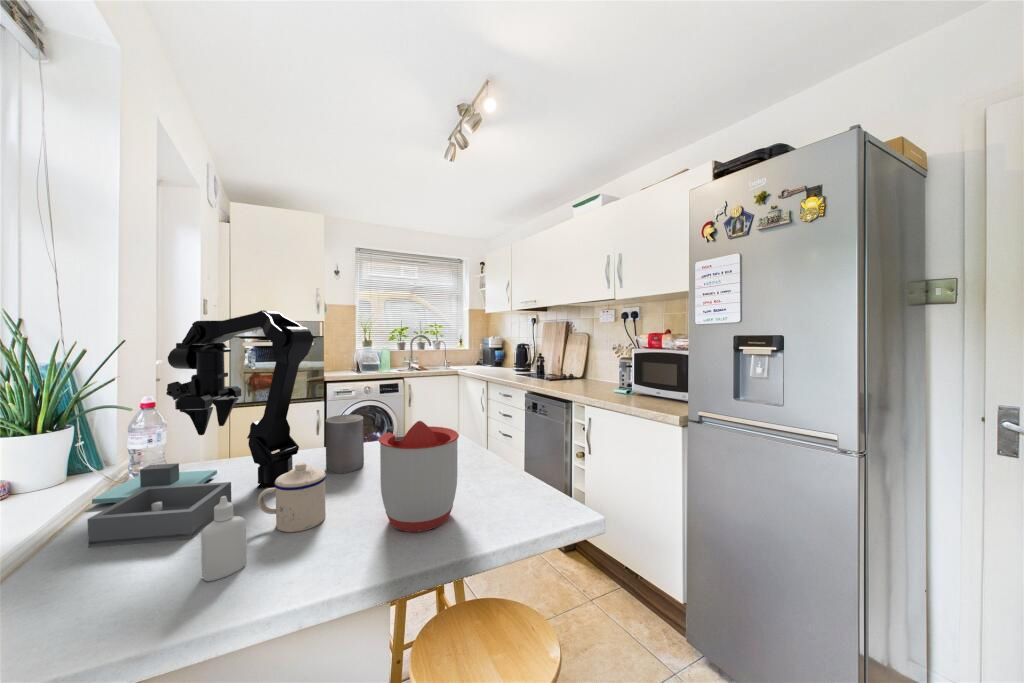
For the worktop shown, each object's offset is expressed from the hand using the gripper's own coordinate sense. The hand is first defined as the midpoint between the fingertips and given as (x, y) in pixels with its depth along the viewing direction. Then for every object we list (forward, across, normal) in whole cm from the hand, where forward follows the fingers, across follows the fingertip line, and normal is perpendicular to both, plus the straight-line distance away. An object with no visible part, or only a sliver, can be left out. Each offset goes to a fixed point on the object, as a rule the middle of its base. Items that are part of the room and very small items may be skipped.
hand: (211, 430), depth 101 cm
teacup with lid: (+12, +30, +29) cm, 44 cm away
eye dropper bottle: (+12, +45, +24) cm, 52 cm away
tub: (+12, +26, +5) cm, 29 cm away
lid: (+12, +8, -7) cm, 16 cm away
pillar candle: (+12, -1, +32) cm, 34 cm away
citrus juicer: (+12, +32, +53) cm, 63 cm away
